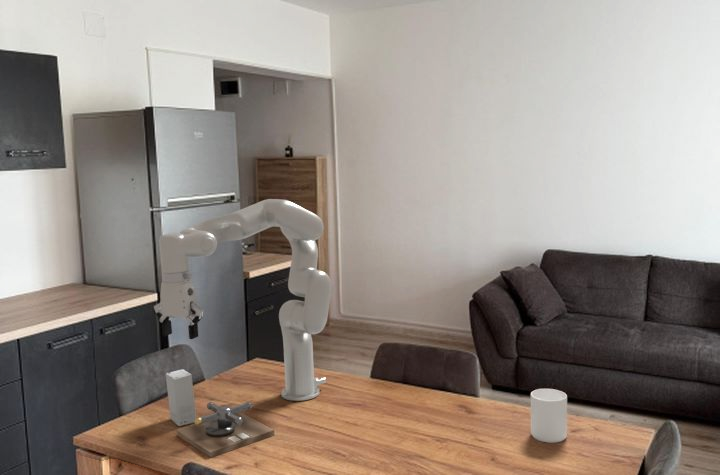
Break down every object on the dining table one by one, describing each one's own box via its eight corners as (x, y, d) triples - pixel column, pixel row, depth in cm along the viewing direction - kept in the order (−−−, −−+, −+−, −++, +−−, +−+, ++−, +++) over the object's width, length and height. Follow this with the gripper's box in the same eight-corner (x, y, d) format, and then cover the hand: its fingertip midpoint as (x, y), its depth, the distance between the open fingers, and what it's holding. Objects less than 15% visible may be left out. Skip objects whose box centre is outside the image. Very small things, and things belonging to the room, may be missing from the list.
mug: (530, 441, 177) (529, 399, 176) (532, 424, 189) (531, 384, 187) (567, 445, 174) (567, 402, 173) (566, 426, 186) (566, 386, 184)
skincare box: (197, 422, 199) (193, 374, 197) (177, 427, 196) (173, 379, 194) (187, 414, 206) (184, 367, 204) (168, 418, 202) (164, 371, 201)
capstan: (237, 411, 201) (235, 392, 201) (269, 429, 188) (268, 407, 187) (181, 429, 190) (179, 408, 189) (211, 449, 176) (210, 426, 175)
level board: (238, 415, 203) (238, 410, 203) (274, 435, 188) (274, 429, 187) (177, 435, 190) (176, 429, 190) (210, 457, 175) (210, 451, 175)
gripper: (208, 276, 186) (213, 335, 188) (161, 273, 194) (166, 330, 196) (191, 281, 179) (195, 342, 181) (143, 278, 187) (148, 337, 189)
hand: (180, 336), depth 189 cm, fingers open, 9 cm apart
